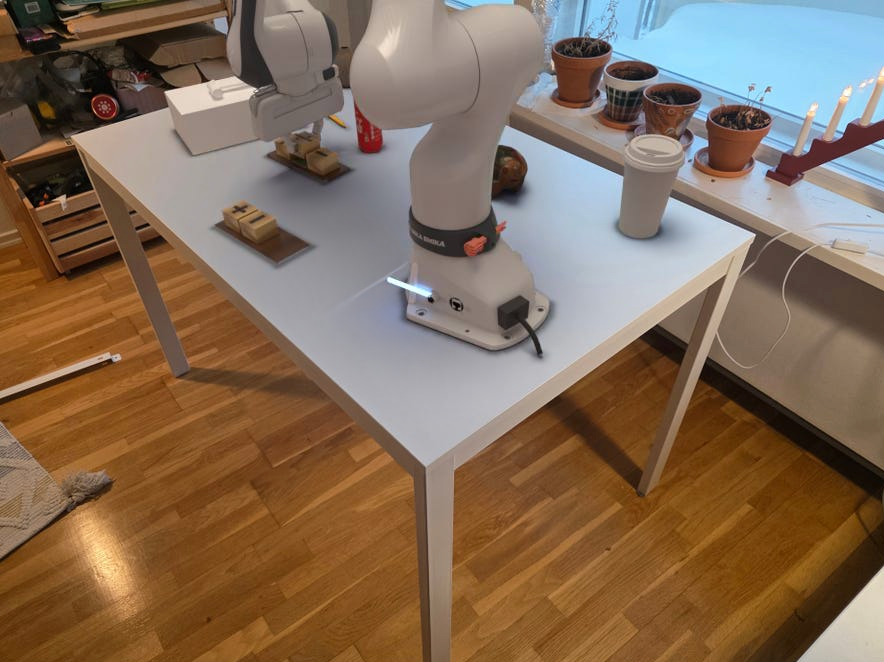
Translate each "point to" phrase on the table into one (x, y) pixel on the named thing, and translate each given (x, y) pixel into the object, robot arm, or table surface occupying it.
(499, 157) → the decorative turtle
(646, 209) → the coffee cup
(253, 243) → the strip
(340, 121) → the pencil
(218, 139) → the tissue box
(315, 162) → the strip
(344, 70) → the vase
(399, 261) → the table surface
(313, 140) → the wooden block
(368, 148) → the beverage can
